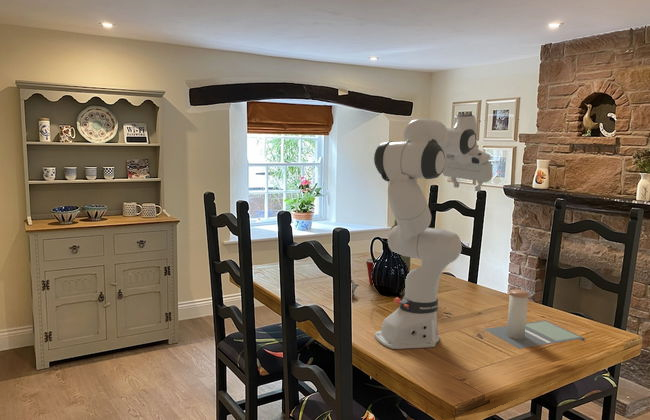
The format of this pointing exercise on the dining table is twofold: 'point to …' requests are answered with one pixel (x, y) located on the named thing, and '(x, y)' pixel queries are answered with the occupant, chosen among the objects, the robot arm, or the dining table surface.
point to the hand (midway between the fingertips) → (467, 188)
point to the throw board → (536, 334)
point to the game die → (353, 286)
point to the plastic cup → (369, 269)
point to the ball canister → (517, 314)
